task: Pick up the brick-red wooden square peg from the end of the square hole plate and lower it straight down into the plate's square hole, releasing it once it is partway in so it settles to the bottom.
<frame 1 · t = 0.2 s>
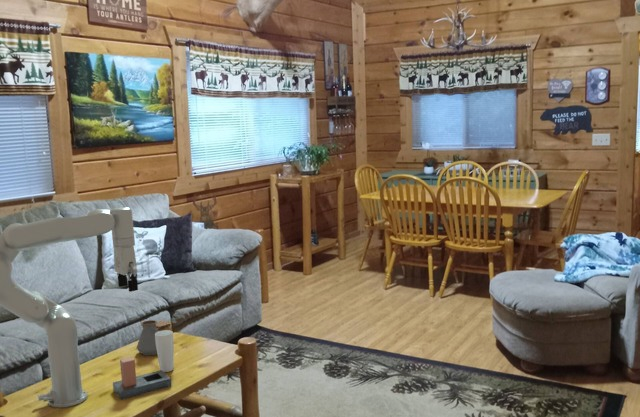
hand: (128, 288, 226), 36 cm above the table, tool pointing down, fingers open, 9 cm apart
drinking glass: (166, 370, 241), on the table
square hole plate: (142, 388, 225), on the table
square peg: (129, 383, 222), point 3 cm above the table, touching square hole plate
coffee pot: (158, 355, 259), on the table
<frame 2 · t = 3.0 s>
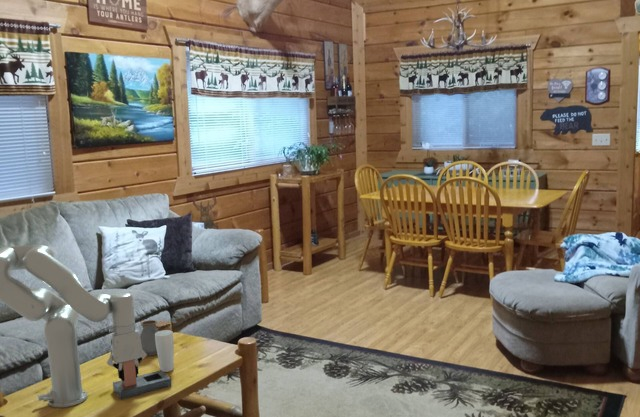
hand: (128, 377, 222), 5 cm above the table, tool pointing down, fingers closed on square peg, 4 cm apart
square peg: (129, 383, 222), point 3 cm above the table, touching gripper, square hole plate
everything else where it was.
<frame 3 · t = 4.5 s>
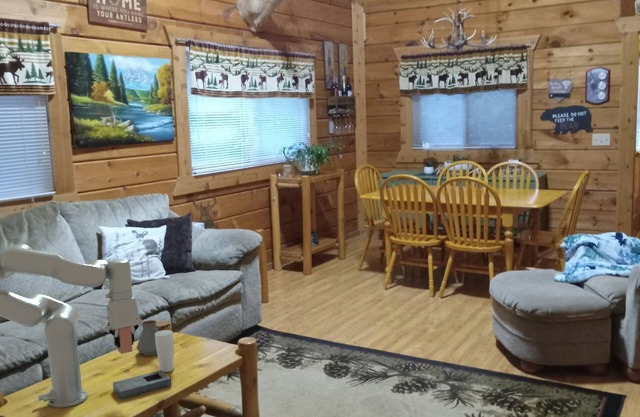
hand: (124, 344, 220), 17 cm above the table, tool pointing down, fingers closed on square peg, 4 cm apart
square peg: (125, 351, 220), point 15 cm above the table, touching gripper
everything else where it was.
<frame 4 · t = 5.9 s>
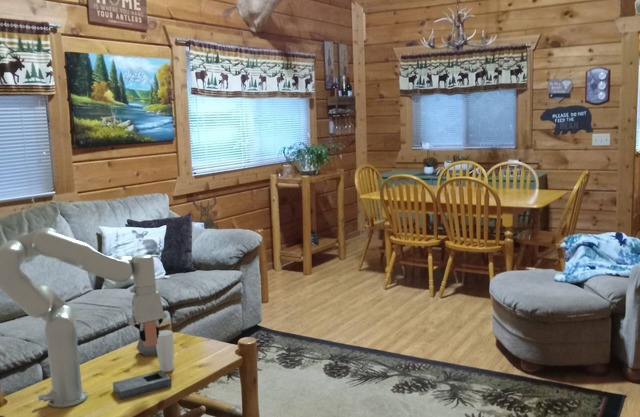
hand: (149, 338, 225), 18 cm above the table, tool pointing down, fingers closed on square peg, 4 cm apart
square peg: (150, 344, 225), point 16 cm above the table, touching gripper
everything else where it was.
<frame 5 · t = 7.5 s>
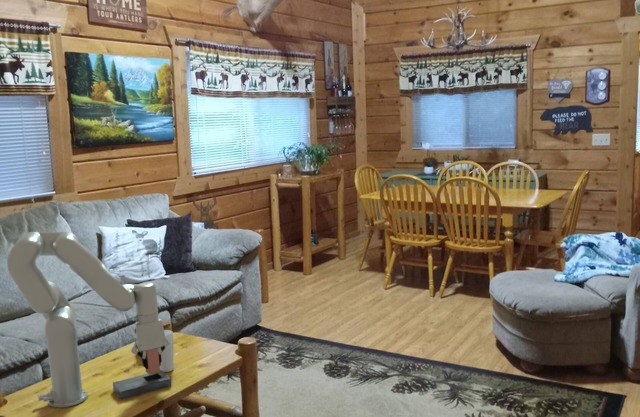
hand: (152, 365, 226), 7 cm above the table, tool pointing down, fingers closed on square peg, 4 cm apart
square peg: (152, 371, 226), point 5 cm above the table, touching gripper
everything else where it was.
when the fingers open (3 cm above the table, at t = 8.9 s): square peg drops 1 cm, resting in square hole plate.
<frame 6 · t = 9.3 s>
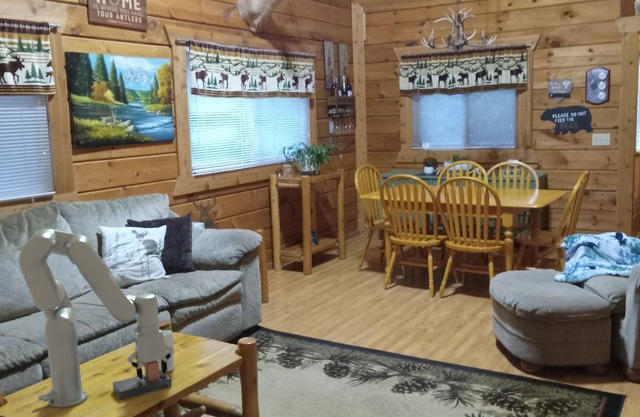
hand: (152, 374, 227), 4 cm above the table, tool pointing down, fingers open, 8 cm apart
square peg: (153, 385, 227), resting in square hole plate
everything else where it was.
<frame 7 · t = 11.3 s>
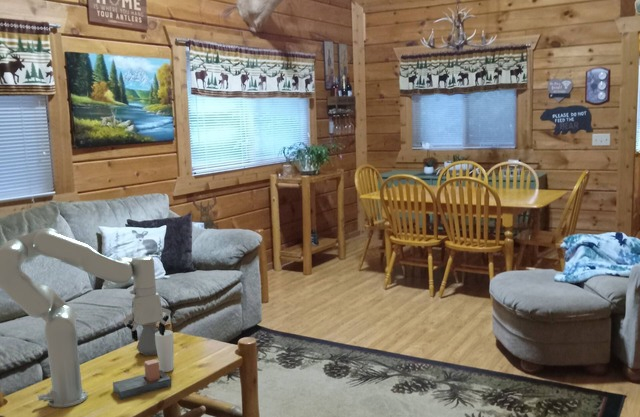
hand: (148, 337, 225), 18 cm above the table, tool pointing down, fingers open, 9 cm apart
nothing on the table moved.
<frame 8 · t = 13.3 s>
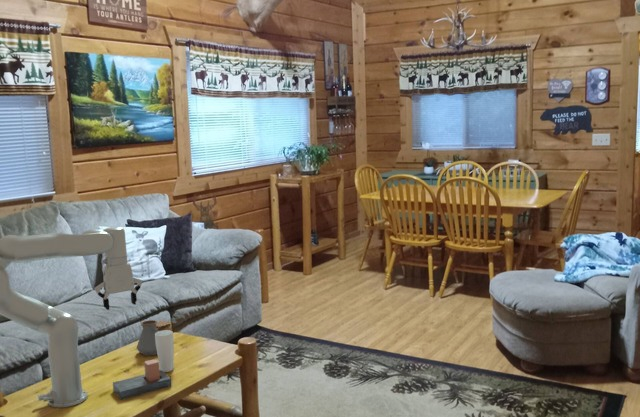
hand: (120, 306, 230), 28 cm above the table, tool pointing down, fingers open, 9 cm apart
nothing on the table moved.
at the end: square peg 0.0 cm from the target spot on the square hole plate, point 0.0 cm above the square hole plate's base; square peg tilted 0°; the gripper is holding nothing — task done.
